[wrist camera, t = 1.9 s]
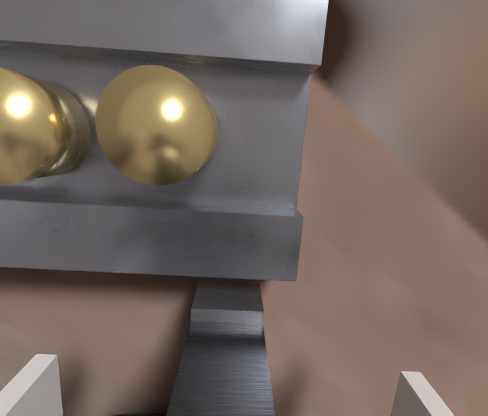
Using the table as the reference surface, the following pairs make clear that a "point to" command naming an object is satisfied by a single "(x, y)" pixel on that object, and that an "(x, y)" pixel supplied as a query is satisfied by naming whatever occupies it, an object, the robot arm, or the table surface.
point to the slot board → (200, 182)
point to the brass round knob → (155, 125)
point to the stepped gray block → (224, 353)
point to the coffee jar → (139, 415)
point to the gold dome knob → (38, 129)
